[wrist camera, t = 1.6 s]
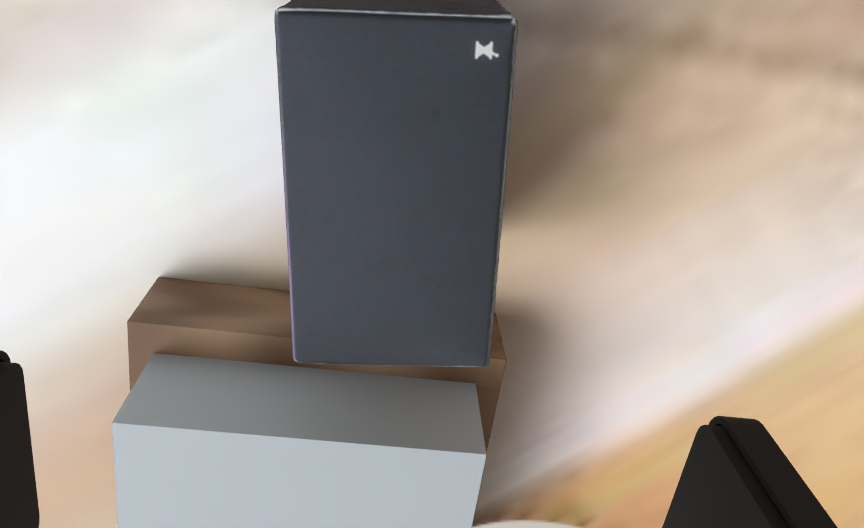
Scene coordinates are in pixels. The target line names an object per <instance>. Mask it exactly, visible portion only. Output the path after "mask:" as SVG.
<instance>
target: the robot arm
mask: <svg viewBox="0 0 864 528" xmlns="http://www.w3.org/2000/svg"><path fill="white" fill-rule="evenodd" d="M0 528H39V508H38V499H37V490H36V481H35V472H34V464H33V455H32V446H31V437H30V428H29V419H28V411H27V402H26V393H25V384H24V375H23V370H22V368H21V366H20V365H19V364H17V363H11V362H10V358H9V356H8V355H7V353H5V352H4V351H0ZM662 528H837V526H836V525H835V524H834V522H833V521H832V519H831V518H830V517H829V515H828V514H827V512H826V511H825V510H824V508H823V507H822V506H821V504H820V503H819V501H818V500H817V499H816V497H815V496H814V495H813V493H812V492H811V490H810V489H809V488H808V486H807V485H806V484H805V482H804V481H803V479H802V478H801V477H800V475H799V474H798V473H797V471H796V470H795V468H794V467H793V466H792V464H791V463H790V461H789V460H788V459H787V457H786V456H785V455H784V453H783V452H782V450H781V449H780V448H779V446H778V445H777V444H776V442H775V441H774V439H773V438H772V437H771V435H770V434H769V433H768V431H767V430H766V428H765V427H764V426H763V425H762V424H761V423H760V422H759V421H758V420H755V419H747V418H736V417H725V416H717V417H714V418H713V419H712V420H711V421H710V423H709V425H703V426H701V427H700V428H699V429H698V431H697V433H696V436H695V438H694V441H693V444H692V447H691V450H690V452H689V455H688V458H687V461H686V463H685V466H684V469H683V472H682V475H681V477H680V480H679V483H678V486H677V488H676V491H675V494H674V497H673V499H672V502H671V505H670V508H669V511H668V513H667V516H666V519H665V522H664V524H663V527H662Z"/></svg>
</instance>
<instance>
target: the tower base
mask: <svg viewBox="0 0 864 528" xmlns="http://www.w3.org/2000/svg"><path fill="white" fill-rule="evenodd" d="M127 324H128V349H129V374H130V391H131V390H132V388H133V386H134V384H135V383H136V381H137V379H138V378H139V376H140V374H141V373H142V371H143V369H144V368H145V366H146V364H147V362H148V361H149V359H150V357H151V356H152V354H153V353H158V354H168V355H179V356H190V357H201V358H211V359H222V360H232V361H243V362H253V363H264V364H274V365H285V366H295V367H306V368H316V369H327V370H338V371H348V372H359V373H369V374H380V375H390V376H401V377H411V378H422V379H432V380H443V381H453V382H464V383H474V384H476V390H477V397H478V403H479V410H480V416H481V422H482V429H483V435H484V442H485V448H486V452H487V447H488V442H489V438H490V433H491V428H492V424H493V419H494V414H495V409H496V405H497V400H498V395H499V390H500V386H501V381H502V376H503V372H504V367H505V362H506V358H505V354H504V349H503V345H502V341H501V336H500V332H499V328H498V323H497V319H496V314H495V313H494V320H493V331H492V343H491V353H490V362H489V365H488V366H487V367H442V366H401V365H399V366H380V365H344V364H315V363H302V362H301V363H299V362H297V361H295V360H294V358H293V343H292V324H291V306H290V291H282V290H273V289H264V288H254V287H245V286H236V285H226V284H217V283H208V282H198V281H189V280H179V279H170V278H161V277H158V279H157V280H156V282H155V283H154V284H153V286H152V287H151V289H150V290H149V291H148V293H147V294H146V296H145V297H144V299H143V300H142V301H141V303H140V304H139V306H138V307H137V308H136V310H135V311H134V313H133V314H132V316H131V317H130V318H129V320H128V321H127Z"/></svg>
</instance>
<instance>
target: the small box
mask: <svg viewBox="0 0 864 528" xmlns="http://www.w3.org/2000/svg"><path fill="white" fill-rule="evenodd" d="M517 32H518V23H517V20H516V19H515V18H514V17H513V16H512V14H511V13H510V12H507V11H506V10H505V9H504V8H503V7H502V6H501V4H500V3H499V2H498V1H497V0H291V1H290V2H289V3H287V4H286V5H284V6H281V7H279V8H278V9H277V10H276V11H275V34H276V54H277V68H278V86H279V104H280V122H281V139H282V156H283V173H284V191H285V209H286V228H287V247H288V266H289V285H290V306H291V324H292V343H293V358H294V360H295V361H297V362H299V363H301V362H302V363H315V364H344V365H380V366H399V365H401V366H442V367H487V366H488V365H489V362H490V353H491V343H492V331H493V320H494V309H495V296H496V282H497V272H498V262H499V248H500V237H501V228H502V214H503V203H504V189H505V176H506V161H507V151H508V140H509V127H510V119H511V105H512V94H513V79H514V64H515V54H516V42H517Z"/></svg>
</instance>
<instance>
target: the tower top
mask: <svg viewBox="0 0 864 528" xmlns="http://www.w3.org/2000/svg"><path fill="white" fill-rule="evenodd" d="M112 433H113V450H114V467H115V484H116V502H117V519H118V528H472V523H473V518H474V513H475V508H476V503H477V498H478V494H479V489H480V484H481V479H482V474H483V469H484V464H485V460H486V448H485V442H484V435H483V429H482V422H481V416H480V410H479V403H478V397H477V390H476V384H474V383H464V382H453V381H443V380H432V379H422V378H411V377H401V376H390V375H380V374H369V373H359V372H348V371H338V370H327V369H316V368H306V367H295V366H285V365H274V364H264V363H253V362H243V361H232V360H222V359H211V358H201V357H190V356H179V355H168V354H158V353H153V354H152V356H151V357H150V359H149V361H148V362H147V364H146V366H145V368H144V369H143V371H142V373H141V374H140V376H139V378H138V379H137V381H136V383H135V384H134V386H133V388H132V390H131V391H130V393H129V395H128V396H127V398H126V400H125V401H124V403H123V405H122V406H121V408H120V410H119V412H118V413H117V415H116V417H115V418H114V420H113V422H112Z"/></svg>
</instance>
